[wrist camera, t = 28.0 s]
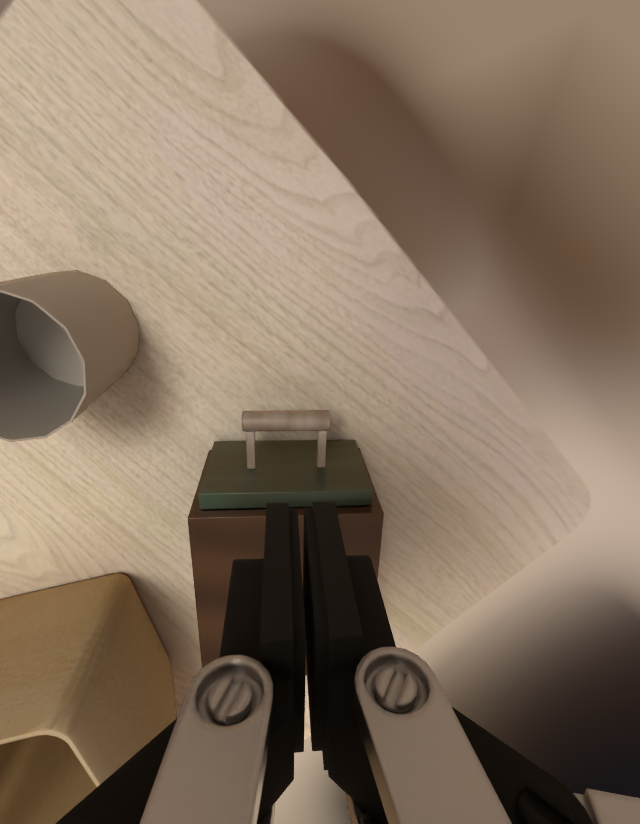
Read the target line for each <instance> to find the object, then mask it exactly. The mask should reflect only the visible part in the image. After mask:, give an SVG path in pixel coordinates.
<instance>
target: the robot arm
mask: <svg viewBox="0 0 640 824" xmlns="http://www.w3.org/2000/svg"><path fill="white" fill-rule="evenodd" d="M306 665H307V680H308V696H309V711H310V727H311V742H312V751H322V752H323V763H324V770H328V772H329V773H328V774H329V777H330V778H331V779H332V780H333V781H334V782H335V783H336V784H337V785H338V786H339V787H340V788H341V789H342V790H343V791H345V792H346V800H347V807H348V811H349V815H350V819H351V823H352V824H640V799H639V798H635V797H629V796H624V795H618V794H612V793H607V792H602V791H597V790H591V789H586V792H585V794H584V795H580V794H575V793H573V792H571V791H570V790H569V789H568V788H567V787H566V786H564V785H563V784H562V783H561V782H560V781H558V780H557V779H556V778H554V777H553V776H551V775H550V774H549V773H547V772H546V771H544V770H543V769H541V768H540V767H538V766H537V765H536V764H534V763H533V762H531V761H530V760H528V759H527V758H525V757H524V756H522V755H521V754H519V753H518V752H517V751H515V750H514V749H512V748H511V747H509V746H508V745H506V744H505V743H504V742H502V741H501V740H499V739H498V738H496V737H495V736H493V735H492V734H490V733H489V732H488V731H486V730H485V729H483V728H482V727H480V726H479V725H477V724H476V723H475V722H473V721H472V720H470V719H469V718H467V717H466V716H464V715H463V714H461V713H460V712H459V711H457V710H456V709H454V708H453V707H451V705H450V703H449V701H448V699H447V697H446V695H445V694H444V691H443V690H442V688H441V686H440V684H439V682H438V680H437V678H436V676H435V674H434V673H433V671H432V670H431V668H430V667H429V666H428V664H427V663H426V662H425V661H424V660H422V659H421V658H420V657H419V656H418V655H416V654H414V653H412V652H410V651H408V650H406V649H402V648H397V647H396V645H395V642H394V638H393V635H392V631H391V628H390V624H389V621H388V617H387V613H386V610H385V606H384V603H383V599H382V596H381V592H380V589H379V585H378V582H377V578H376V574H375V571H374V567H373V564H372V560H371V558H370V556H369V555H346V552H345V547H344V543H343V538H342V533H341V528H340V523H339V519H338V514H337V509H336V504H335V502H334V501H328V502H313V503H312V508H304V535H303V585H302V570H301V555H300V540H299V525H298V511H297V508H289V503H288V502H286V503H266V523H265V546H264V558H260V559H234V560H233V564H232V570H231V577H230V584H229V592H228V599H227V606H226V613H225V621H224V628H223V635H222V642H221V649H220V657H219V659H216V660H214V661H212V662H210V663H209V664H207V665H206V666H204V667H203V668H202V669H201V670H200V671H199V672H198V673H197V674H196V675H195V676H194V678H193V680H192V682H191V684H190V686H189V687H188V690H187V692H186V695H185V698H184V701H183V704H182V706H181V709H180V712H179V715H178V718H176V719H175V720H174V721H173V722H172V723H171V724H170V725H168V726H167V727H166V728H165V729H164V730H163V731H161V732H160V733H159V734H158V735H157V736H156V737H155V738H153V739H152V740H151V741H150V742H149V743H148V744H146V745H145V746H144V747H143V748H142V749H141V750H139V751H138V752H137V753H136V754H135V755H134V756H133V757H131V758H130V759H129V760H128V761H127V762H126V763H124V764H123V765H122V766H121V767H120V768H119V769H118V770H116V771H115V772H114V773H113V774H112V775H111V776H109V777H108V778H107V779H106V780H105V781H104V782H103V783H101V784H100V785H99V786H98V787H97V788H96V789H94V790H93V791H92V792H91V793H90V794H89V795H87V796H86V797H85V798H84V799H83V800H82V801H81V802H79V803H78V804H77V805H76V806H75V807H74V808H72V809H71V810H70V811H69V812H68V813H67V814H66V815H64V816H63V817H62V818H61V819H60V820H59V821H58V822H57V823H56V824H273V821H274V814H275V802H276V801H277V799H278V798H279V797H280V796H281V794H282V793H283V792H284V791H285V789H286V788H287V787H288V786H289V785H290V783H291V782H292V781H293V779H294V752H303V751H304V713H305V667H306Z"/></svg>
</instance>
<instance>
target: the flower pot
mask: <svg viewBox="0 0 640 824" xmlns="http://www.w3.org/2000/svg"><path fill="white" fill-rule="evenodd" d="M176 718H177V712H176V702H175V692H174V682H173V674H172V667H171V662H170V659H169V657H168V655H167V653H166V651H165V649H164V647H163V645H162V643H161V641H160V639H159V637H158V635H157V633H156V631H155V629H154V627H153V625H152V623H151V621H150V619H149V617H148V614H147V612H146V610H145V608H144V607H143V605H142V602H141V600H140V598H139V596H138V594H137V592H136V590H135V588H134V586H133V584H132V582H131V580H130V579H129V578H128V577H127V576H125V575H123V574H112V575H107V576H103V577H98V578H94V579H89V580H85V581H80V582H76V583H72V584H67V585H63V586H58V587H54V588H49V589H45V590H40V591H36V592H31V593H27V594H23V595H18V596H14V597H9V598H5V599H1V600H0V824H56V823H57V822H58V821H59V820H60V819H61V818H62V817H63V816H64V815H66V814H67V813H68V812H69V811H70V810H71V809H72V808H74V807H75V806H76V805H77V804H78V803H79V802H81V801H82V800H83V799H84V798H85V797H86V796H87V795H89V794H90V793H91V792H92V791H93V790H94V789H96V788H97V787H98V786H99V785H100V784H101V783H103V782H104V781H105V780H106V779H107V778H108V777H109V776H111V775H112V774H113V773H114V772H115V771H116V770H118V769H119V768H120V767H121V766H122V765H123V764H124V763H126V762H127V761H128V760H129V759H130V758H131V757H133V756H134V755H135V754H136V753H137V752H138V751H139V750H141V749H142V748H143V747H144V746H145V745H146V744H148V743H149V742H150V741H151V740H152V739H153V738H155V737H156V736H157V735H158V734H159V733H160V732H161V731H163V730H164V729H165V728H166V727H167V726H168V725H170V724H171V723H172V722H173V721H174V720H175V719H176Z"/></svg>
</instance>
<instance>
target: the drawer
mask: <svg viewBox="0 0 640 824" xmlns="http://www.w3.org/2000/svg"><path fill="white" fill-rule="evenodd" d="M330 425H331V417H330V411H329V410H306V411H243V412H242V430H243V431H246V441H217V442H214V444H213V448H212V451H211V454H210V458H209V461H208V464H207V468H206V471H205V474H204V477H203V481H202V484H201V487H200V491H199V494H198V495H199V507H200V510H201V509H216V511H222V510H257V508H266V503H286V502H288V503H289V507H312V503H313V502H328V501H334V502H335V504H336V508H341V507H356V506H361V505H372V500H373V488H372V485H371V483H370V480H369V477H368V474H367V472H366V469H365V466H364V463H363V461H362V458H361V455H360V452H359V450H358V447H357V444H356V441H355V440H326V437H327V431H326V430H330ZM255 431H318V433H317V440H302V441H255Z"/></svg>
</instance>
